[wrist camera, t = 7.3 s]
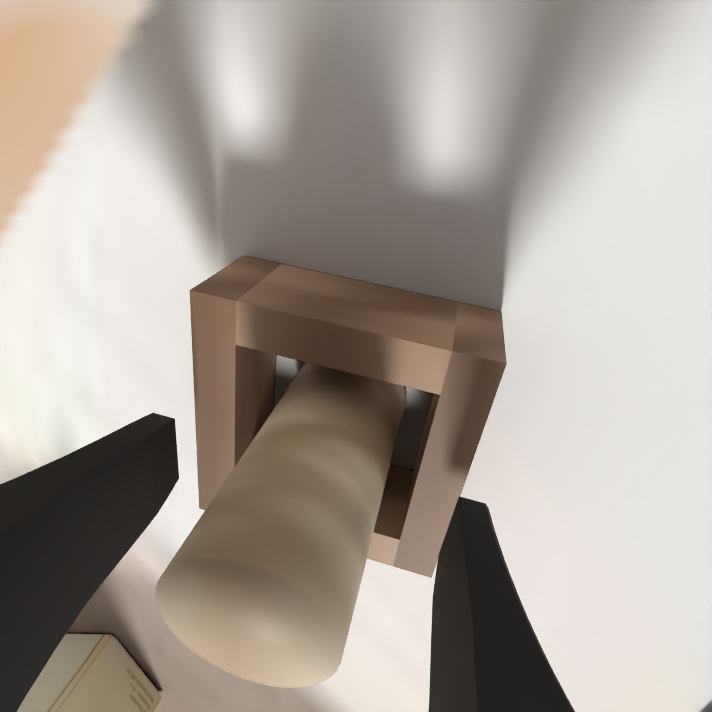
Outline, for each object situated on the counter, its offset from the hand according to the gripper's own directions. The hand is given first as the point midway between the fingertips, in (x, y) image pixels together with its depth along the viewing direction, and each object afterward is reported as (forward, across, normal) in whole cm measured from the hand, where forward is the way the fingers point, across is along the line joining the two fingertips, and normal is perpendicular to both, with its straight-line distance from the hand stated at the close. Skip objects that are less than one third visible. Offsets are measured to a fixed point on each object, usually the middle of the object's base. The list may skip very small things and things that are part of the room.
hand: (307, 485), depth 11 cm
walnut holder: (+4, 0, 0) cm, 4 cm away
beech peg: (+4, 0, 0) cm, 4 cm away
